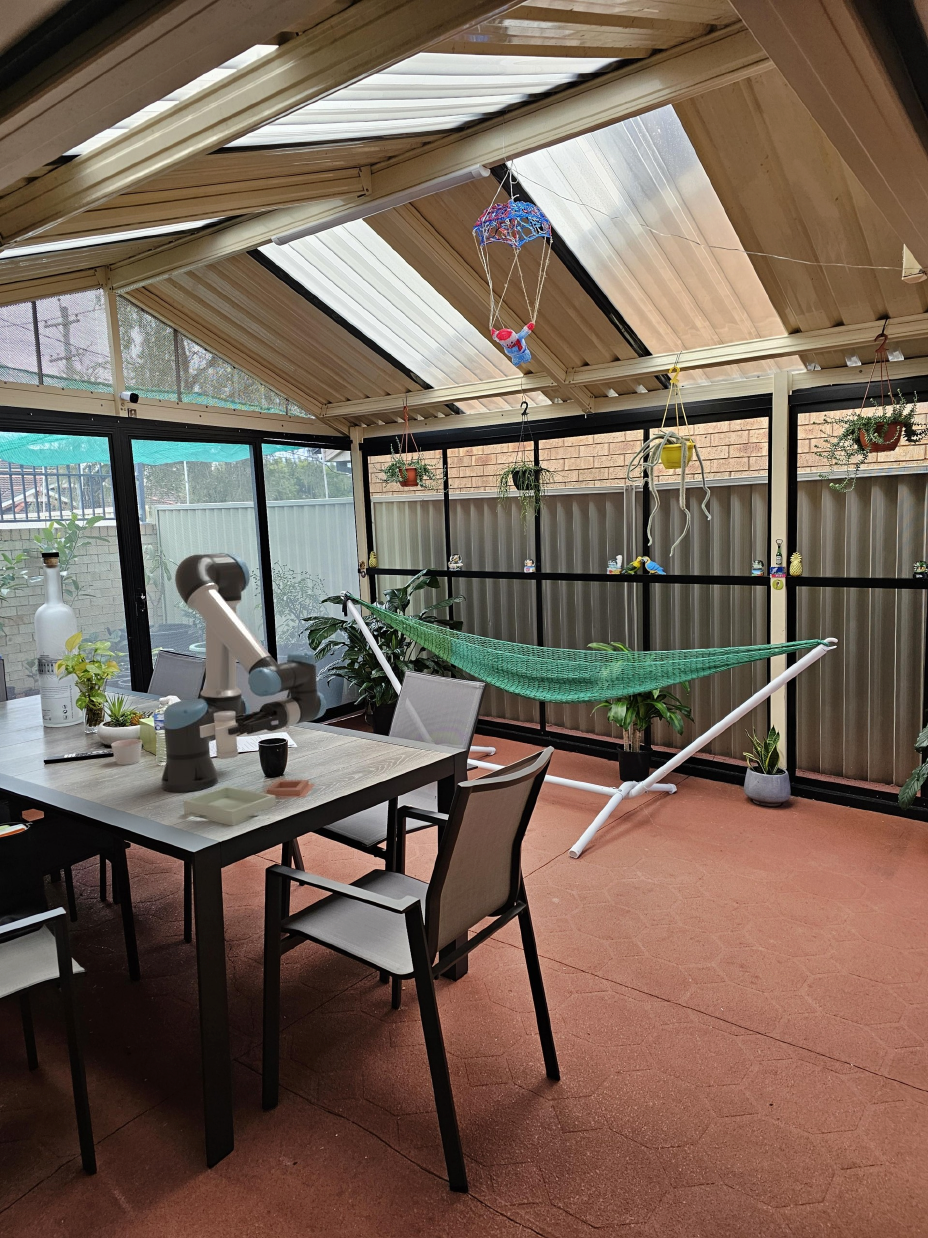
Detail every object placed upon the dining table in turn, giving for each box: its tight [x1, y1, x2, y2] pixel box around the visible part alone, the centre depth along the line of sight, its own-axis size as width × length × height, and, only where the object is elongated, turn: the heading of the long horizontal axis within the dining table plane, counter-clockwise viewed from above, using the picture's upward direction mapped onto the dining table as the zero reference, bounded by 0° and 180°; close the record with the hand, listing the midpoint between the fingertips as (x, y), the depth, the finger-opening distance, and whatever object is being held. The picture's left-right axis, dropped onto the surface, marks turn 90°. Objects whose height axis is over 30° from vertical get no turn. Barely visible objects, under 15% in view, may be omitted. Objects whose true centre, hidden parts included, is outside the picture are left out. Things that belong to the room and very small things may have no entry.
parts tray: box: [183, 785, 277, 826], centre depth 211 cm, size 18×14×4 cm
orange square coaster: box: [263, 779, 316, 799], centre depth 225 cm, size 12×12×2 cm
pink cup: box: [110, 738, 143, 766], centre depth 263 cm, size 9×9×6 cm
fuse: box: [214, 711, 239, 760], centre depth 210 cm, size 5×5×11 cm
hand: (208, 733), depth 205 cm, fingers closed on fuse, 5 cm apart
